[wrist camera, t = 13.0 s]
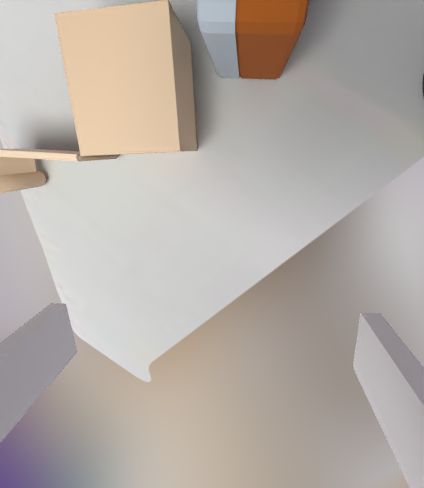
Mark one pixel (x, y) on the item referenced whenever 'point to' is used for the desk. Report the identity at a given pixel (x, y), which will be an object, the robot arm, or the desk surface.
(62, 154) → the flap
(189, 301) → the desk surface
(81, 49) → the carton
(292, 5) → the grey rounded slab
